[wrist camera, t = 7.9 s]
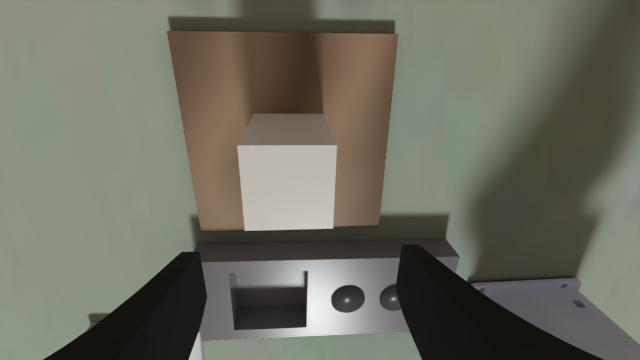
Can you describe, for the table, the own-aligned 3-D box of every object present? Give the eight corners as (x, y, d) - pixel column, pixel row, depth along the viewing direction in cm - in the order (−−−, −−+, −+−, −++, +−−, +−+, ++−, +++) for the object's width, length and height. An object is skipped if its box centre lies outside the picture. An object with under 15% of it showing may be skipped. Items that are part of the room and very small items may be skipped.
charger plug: (323, 113, 18) (336, 145, 13) (321, 176, 20) (333, 228, 14) (253, 113, 18) (236, 145, 12) (257, 177, 20) (244, 230, 14)
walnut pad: (394, 34, 17) (398, 34, 17) (376, 220, 22) (378, 225, 22) (171, 31, 16) (167, 30, 16) (203, 226, 21) (200, 231, 21)
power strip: (443, 236, 24) (463, 262, 21) (427, 305, 27) (443, 336, 24) (199, 239, 22) (186, 268, 19) (209, 313, 25) (199, 348, 22)
